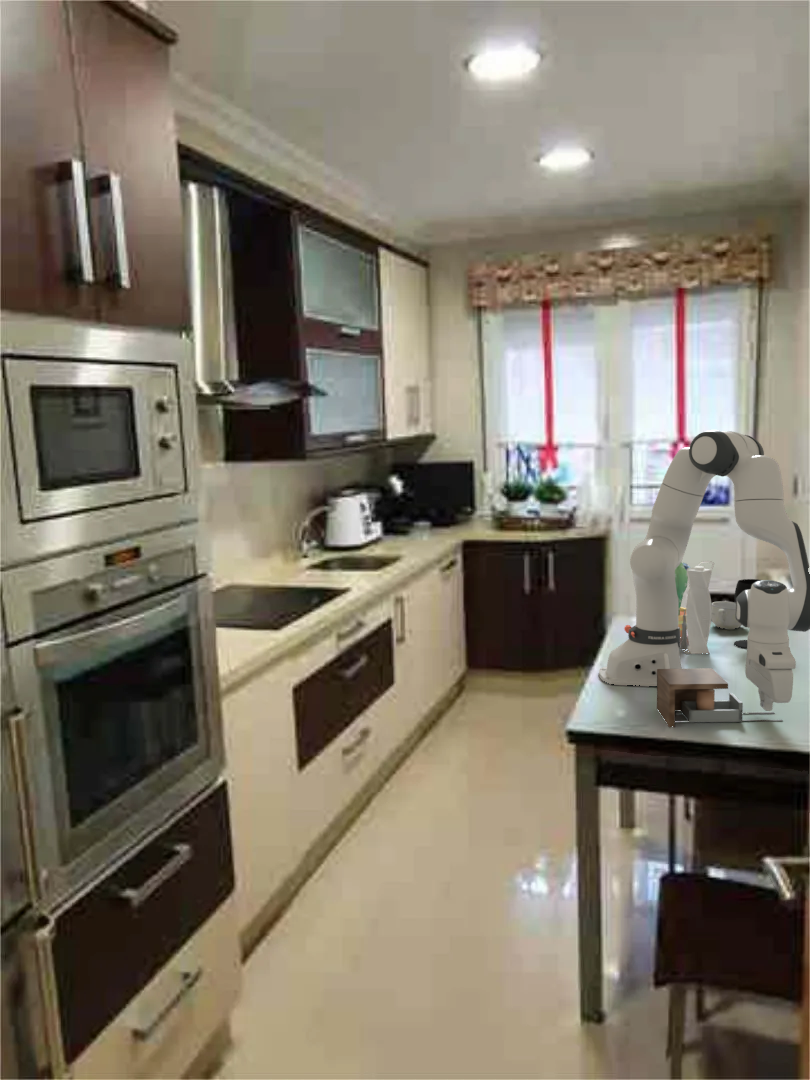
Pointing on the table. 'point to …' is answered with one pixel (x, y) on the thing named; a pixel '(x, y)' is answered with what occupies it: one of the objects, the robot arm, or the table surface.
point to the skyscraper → (697, 611)
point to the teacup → (724, 615)
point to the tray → (714, 711)
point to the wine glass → (740, 587)
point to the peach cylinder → (705, 699)
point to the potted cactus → (681, 590)
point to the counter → (686, 689)
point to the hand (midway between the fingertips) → (766, 708)
